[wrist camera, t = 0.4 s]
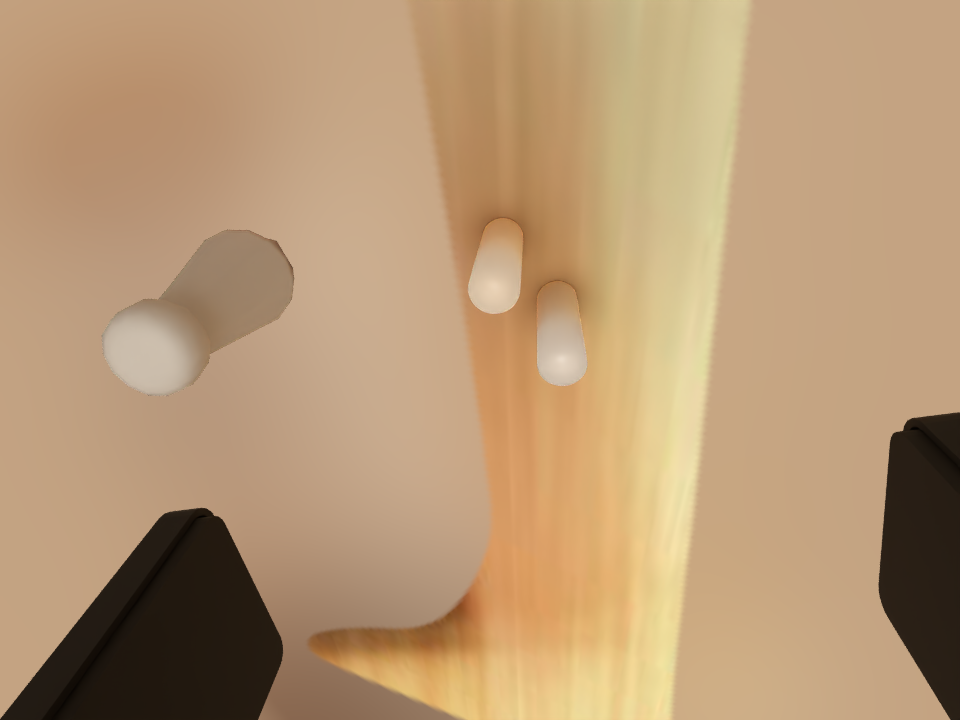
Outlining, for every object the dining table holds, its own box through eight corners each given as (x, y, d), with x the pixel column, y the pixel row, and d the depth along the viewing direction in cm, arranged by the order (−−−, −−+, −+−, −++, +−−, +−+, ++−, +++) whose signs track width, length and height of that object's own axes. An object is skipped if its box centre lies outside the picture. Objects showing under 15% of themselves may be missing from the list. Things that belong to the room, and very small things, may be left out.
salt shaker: (274, 328, 41) (169, 442, 29) (196, 272, 39) (53, 368, 28) (323, 261, 38) (230, 355, 27) (241, 199, 37) (106, 270, 25)
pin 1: (478, 222, 36) (462, 269, 29) (519, 214, 36) (514, 260, 28) (486, 261, 37) (474, 317, 30) (526, 254, 37) (524, 309, 29)
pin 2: (534, 284, 38) (533, 345, 30) (574, 277, 37) (583, 337, 30) (540, 321, 39) (541, 389, 31) (579, 314, 38) (590, 382, 31)
